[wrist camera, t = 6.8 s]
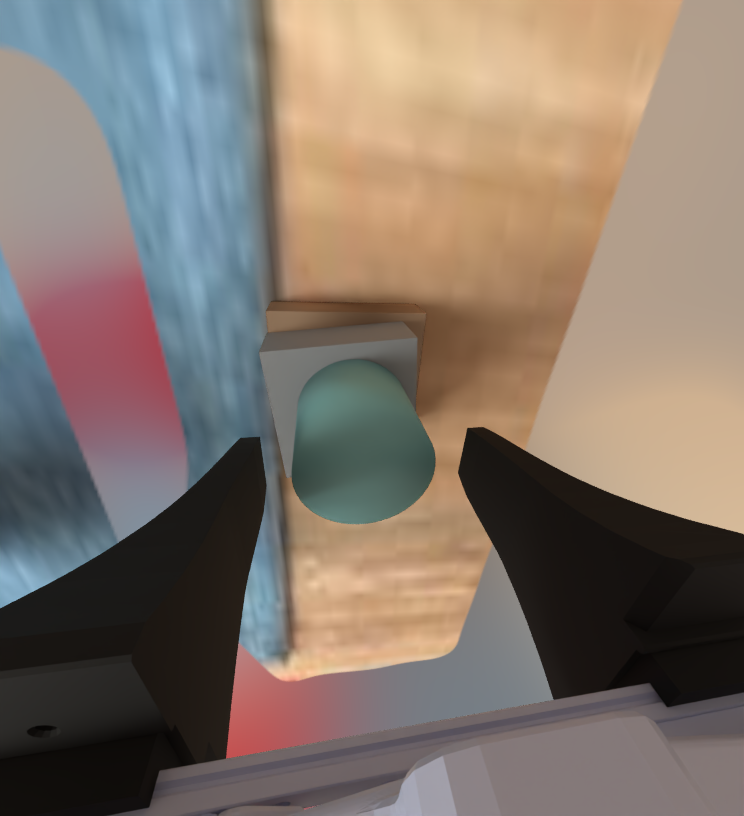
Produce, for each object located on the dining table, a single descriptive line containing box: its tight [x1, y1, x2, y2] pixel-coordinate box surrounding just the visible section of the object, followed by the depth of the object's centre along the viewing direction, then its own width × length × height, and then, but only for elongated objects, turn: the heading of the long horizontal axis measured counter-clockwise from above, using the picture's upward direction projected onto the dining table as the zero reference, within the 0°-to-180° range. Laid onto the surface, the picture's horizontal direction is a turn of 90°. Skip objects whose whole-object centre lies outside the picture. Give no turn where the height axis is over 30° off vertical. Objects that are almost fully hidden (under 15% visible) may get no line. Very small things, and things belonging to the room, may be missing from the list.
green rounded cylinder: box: [291, 359, 435, 524], centre depth 12 cm, size 5×5×4 cm
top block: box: [259, 321, 417, 478], centre depth 15 cm, size 6×6×2 cm
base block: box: [266, 301, 426, 393], centre depth 17 cm, size 7×7×2 cm
